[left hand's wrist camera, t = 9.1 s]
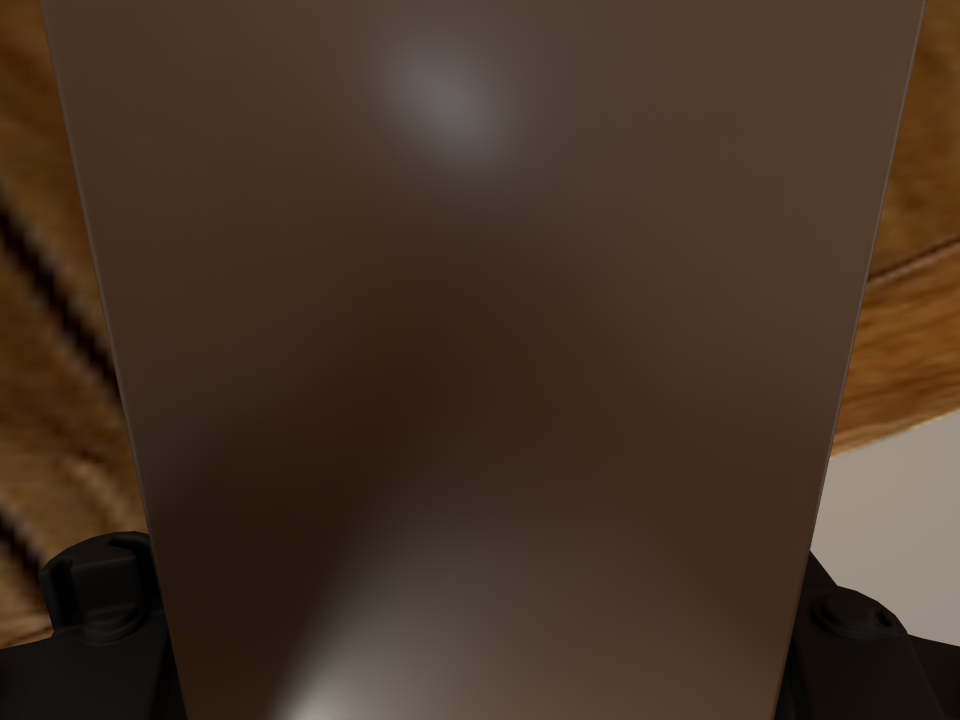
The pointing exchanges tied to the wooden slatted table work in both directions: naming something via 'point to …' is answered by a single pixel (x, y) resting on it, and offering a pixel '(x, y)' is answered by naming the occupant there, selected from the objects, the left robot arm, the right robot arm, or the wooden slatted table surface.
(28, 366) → the wooden slatted table surface
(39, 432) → the wooden slatted table surface
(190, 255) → the bar
